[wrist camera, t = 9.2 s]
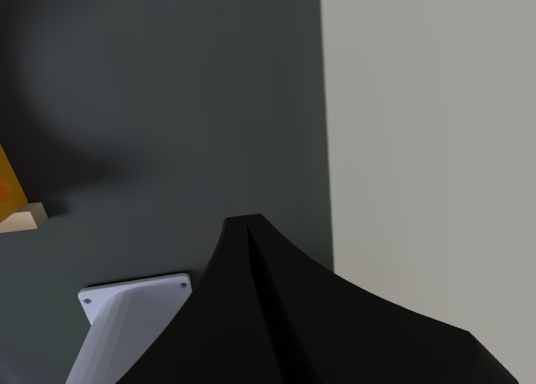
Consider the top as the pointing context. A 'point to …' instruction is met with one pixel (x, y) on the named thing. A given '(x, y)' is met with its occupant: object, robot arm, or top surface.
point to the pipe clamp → (9, 189)
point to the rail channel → (25, 218)
